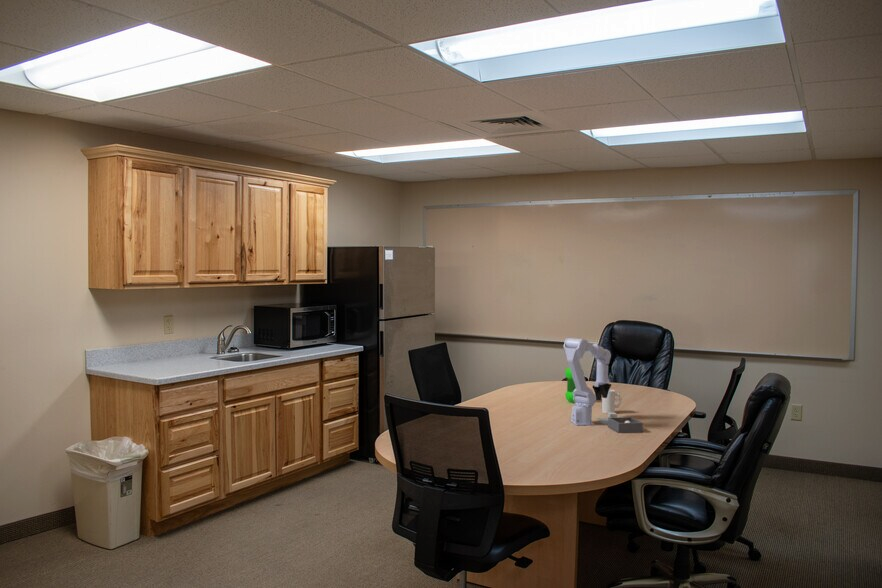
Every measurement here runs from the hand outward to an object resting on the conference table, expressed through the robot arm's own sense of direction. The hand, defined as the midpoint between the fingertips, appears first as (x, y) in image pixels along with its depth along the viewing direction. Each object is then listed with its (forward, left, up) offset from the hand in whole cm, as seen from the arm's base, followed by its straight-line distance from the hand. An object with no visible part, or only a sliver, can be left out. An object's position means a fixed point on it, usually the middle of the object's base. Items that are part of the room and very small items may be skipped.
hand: (601, 398), depth 332 cm
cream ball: (+5, -20, -8) cm, 22 cm away
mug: (+11, +13, -10) cm, 20 cm away
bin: (+2, -23, -10) cm, 25 cm away
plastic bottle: (+1, +42, -10) cm, 44 cm away
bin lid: (+3, -6, -11) cm, 13 cm away
